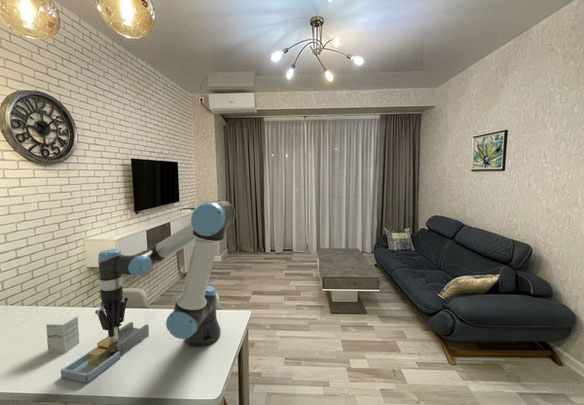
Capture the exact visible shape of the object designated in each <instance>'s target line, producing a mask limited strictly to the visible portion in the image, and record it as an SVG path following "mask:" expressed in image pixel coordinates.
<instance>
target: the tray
mask: <svg viewBox="0 0 584 405" xmlns="http://www.w3.org/2000/svg"><path fill="white" fill-rule="evenodd" d="M95 348H97V346H96V347H94V348H93V349H95ZM93 349H91V350H89V351H88V352H87V353H89V352H90V351H92V350H93ZM87 353H85V354H83V355H82V356H80V357H78V358H77V359H76V360H74V361H73V362H71V363H69V364H68V365H66V366H65V367H63V368H62V369H60V377H61V379H64V378H65V380H68V379H70V380H69V381H72V380H74V381H73V382H77V381H78V383H82V384H86V385H88V384H90V383H91V382H93V380H95V379H96V378H98V377H99V376H100V375H102V373H104V372H105V371H107V370H108V369H109V368H111V367H112V366H113V365H114V364H116V363H117V362H118V361H119V360H121V357H120V352H117V353H116V354H114V355H113V356H110V355H107V360H106V361H105V362H103V363H102V364H100V365H99V366H93V365H88V355H87ZM98 375H99V376H98Z"/></svg>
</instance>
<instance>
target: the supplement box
mask: <svg viewBox="0 0 584 405" xmlns="http://www.w3.org/2000/svg"><path fill="white" fill-rule="evenodd" d="M46 339H47V340H46V342H47V353H48V354H66V353H67V352H69V351H71V350H72V349H73V348H74V347H76V346H78V344H80V332H79V316H78V315H60V316H58V317H56V318H55V319H54V320H52V321H50V322H48V323H46ZM71 348H72V349H71Z"/></svg>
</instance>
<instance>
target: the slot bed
mask: <svg viewBox="0 0 584 405" xmlns="http://www.w3.org/2000/svg"><path fill="white" fill-rule="evenodd" d="M149 326H150V325H149V324H144V325H143V326H141V327H140V328H138V327H134V322H129V323H127V324H125V325H124V326H122V327H121V328H120V327H119V333H118V339H119V342H118V344H117V345H115V350H114V351H113V352H111V353H110V354H108V355H110V356H113V355H114V354H116V353H117V352H120V358H121V357H122V356H124V355H125V354H126V353H127V352H129V351H131V350H132V349H133V348H134V347H136V346H137V345H139V343H141V342H142V341H144V340H145V339H146V338H147V337H149V336H150V330H149V329H150V327H149ZM106 338H110V337H109V336H108V335H107V336H106V337H105V338H104V339H101V340H100V341H99V342H97V344H99V343H100V342H102V341H103V340H105V339H106Z"/></svg>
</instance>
